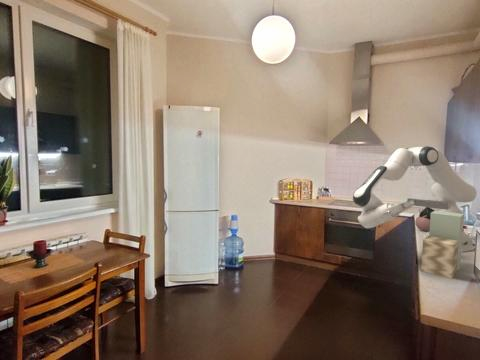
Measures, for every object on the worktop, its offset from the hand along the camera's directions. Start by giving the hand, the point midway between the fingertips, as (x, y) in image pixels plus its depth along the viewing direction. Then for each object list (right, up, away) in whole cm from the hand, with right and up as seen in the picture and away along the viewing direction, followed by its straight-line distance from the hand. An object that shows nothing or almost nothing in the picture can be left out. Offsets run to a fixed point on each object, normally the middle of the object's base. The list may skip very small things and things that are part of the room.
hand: (415, 201), depth 146 cm
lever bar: (+3, -2, -3) cm, 5 cm away
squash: (+68, -26, +97) cm, 121 cm away
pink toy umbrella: (+50, -27, +75) cm, 95 cm away
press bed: (+8, -32, -5) cm, 34 cm away
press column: (+16, -32, +3) cm, 36 cm away
